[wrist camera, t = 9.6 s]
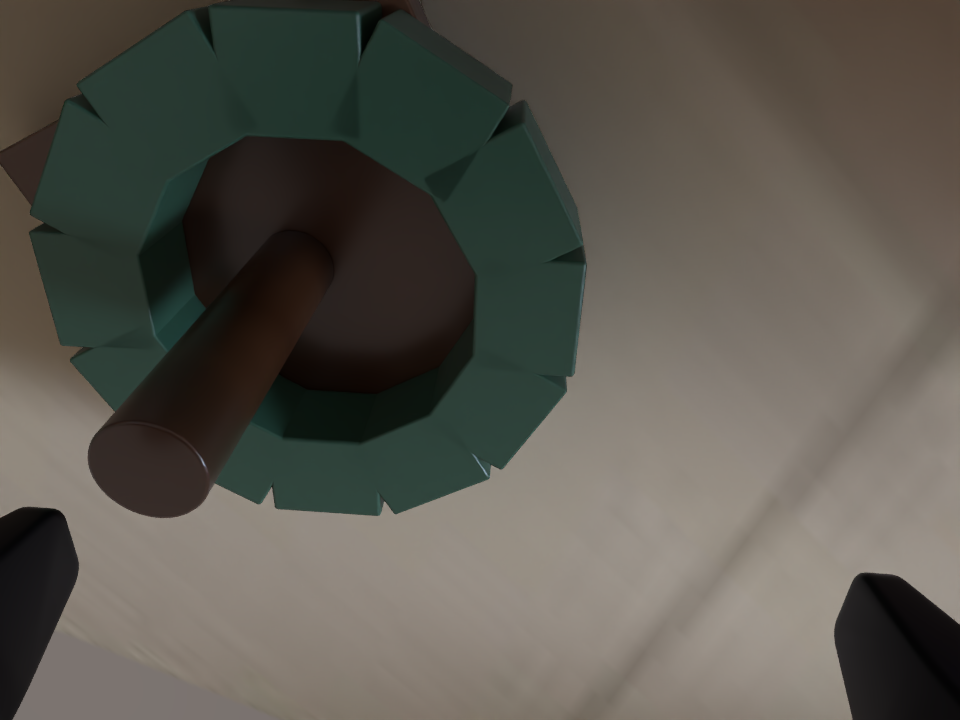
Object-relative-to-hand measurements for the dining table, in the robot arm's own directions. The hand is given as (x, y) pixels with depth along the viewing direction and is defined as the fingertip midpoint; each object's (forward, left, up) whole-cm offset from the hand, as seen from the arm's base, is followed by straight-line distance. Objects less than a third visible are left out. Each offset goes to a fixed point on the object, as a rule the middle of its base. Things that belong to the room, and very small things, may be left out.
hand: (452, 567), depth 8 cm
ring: (+3, -2, -8) cm, 9 cm away
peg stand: (+4, -2, -9) cm, 10 cm away
